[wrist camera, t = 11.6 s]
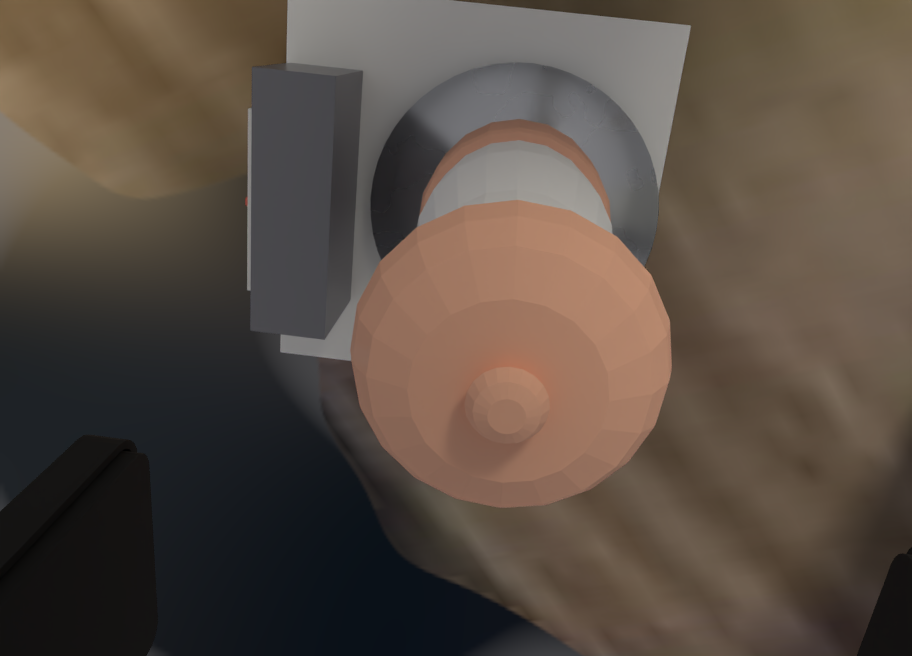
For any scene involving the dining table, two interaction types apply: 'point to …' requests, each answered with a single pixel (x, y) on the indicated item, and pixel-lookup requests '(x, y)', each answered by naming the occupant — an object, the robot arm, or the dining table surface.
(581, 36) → the base
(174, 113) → the dining table surface
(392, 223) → the scale pan
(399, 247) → the salt shaker
